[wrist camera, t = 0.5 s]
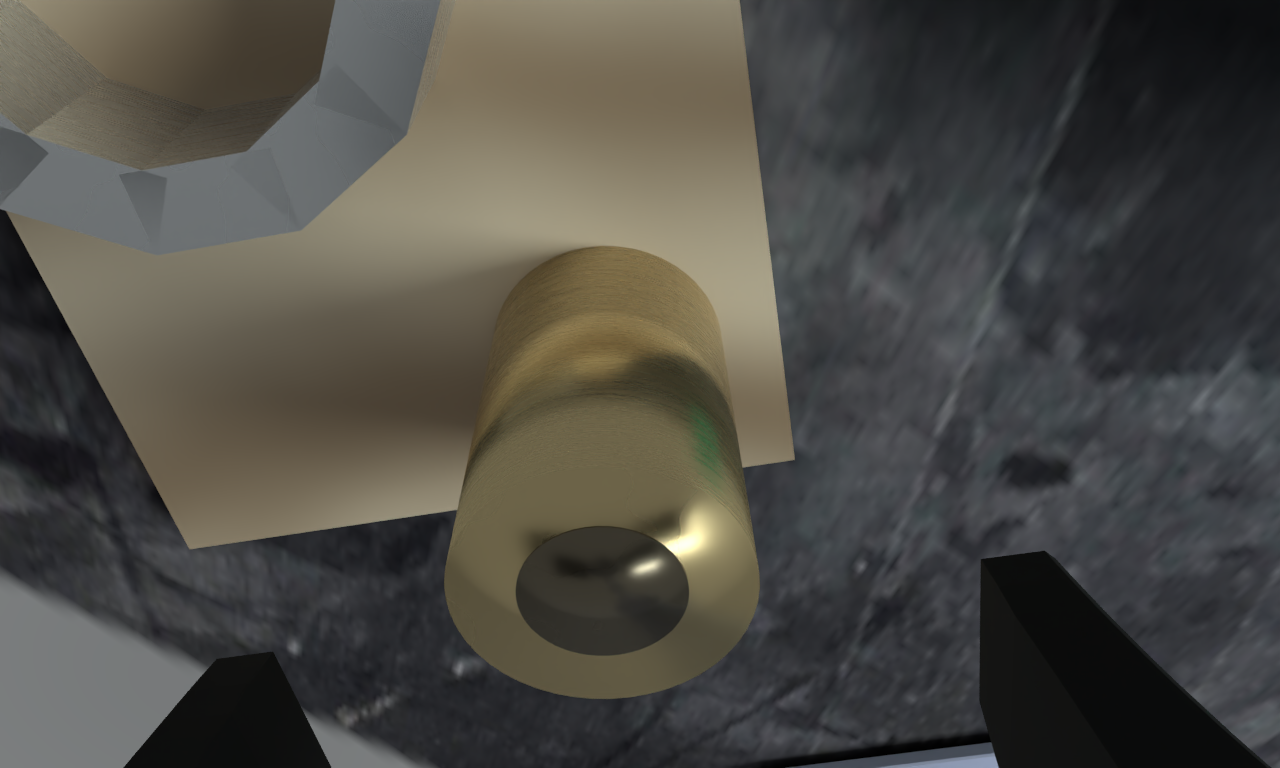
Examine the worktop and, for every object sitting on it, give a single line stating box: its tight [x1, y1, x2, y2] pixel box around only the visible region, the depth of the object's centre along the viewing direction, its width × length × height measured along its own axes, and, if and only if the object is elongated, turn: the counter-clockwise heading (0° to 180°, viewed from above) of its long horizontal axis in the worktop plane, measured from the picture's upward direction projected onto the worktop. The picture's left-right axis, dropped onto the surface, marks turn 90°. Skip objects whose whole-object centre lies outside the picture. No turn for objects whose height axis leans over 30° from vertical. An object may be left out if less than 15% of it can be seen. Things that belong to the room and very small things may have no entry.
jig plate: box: [6, 0, 795, 549], centre depth 16 cm, size 16×12×1 cm
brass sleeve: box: [444, 246, 760, 699], centre depth 16 cm, size 4×4×6 cm
